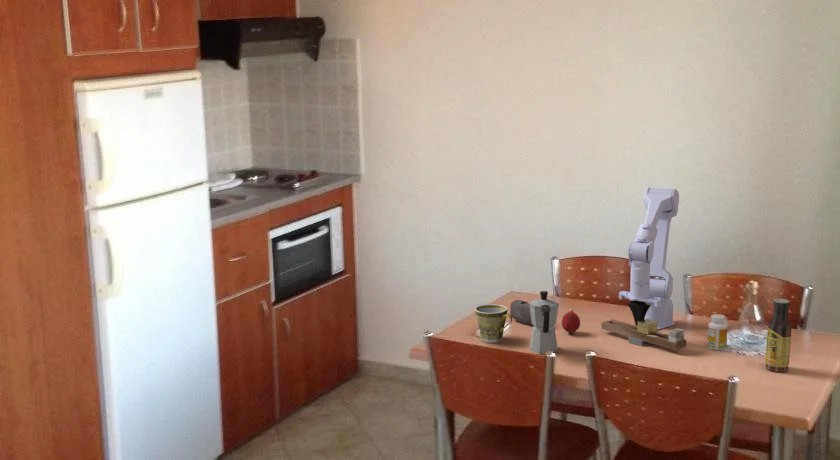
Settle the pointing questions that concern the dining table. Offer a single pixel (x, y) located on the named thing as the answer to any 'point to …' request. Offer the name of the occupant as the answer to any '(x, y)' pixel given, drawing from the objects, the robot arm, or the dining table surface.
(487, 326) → the ceramic cup
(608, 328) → the beam
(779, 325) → the sauce bottle
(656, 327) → the block
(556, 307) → the coffee maker
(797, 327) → the dining table surface
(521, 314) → the perforated stone tool
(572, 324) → the onion
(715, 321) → the supplement bottle
